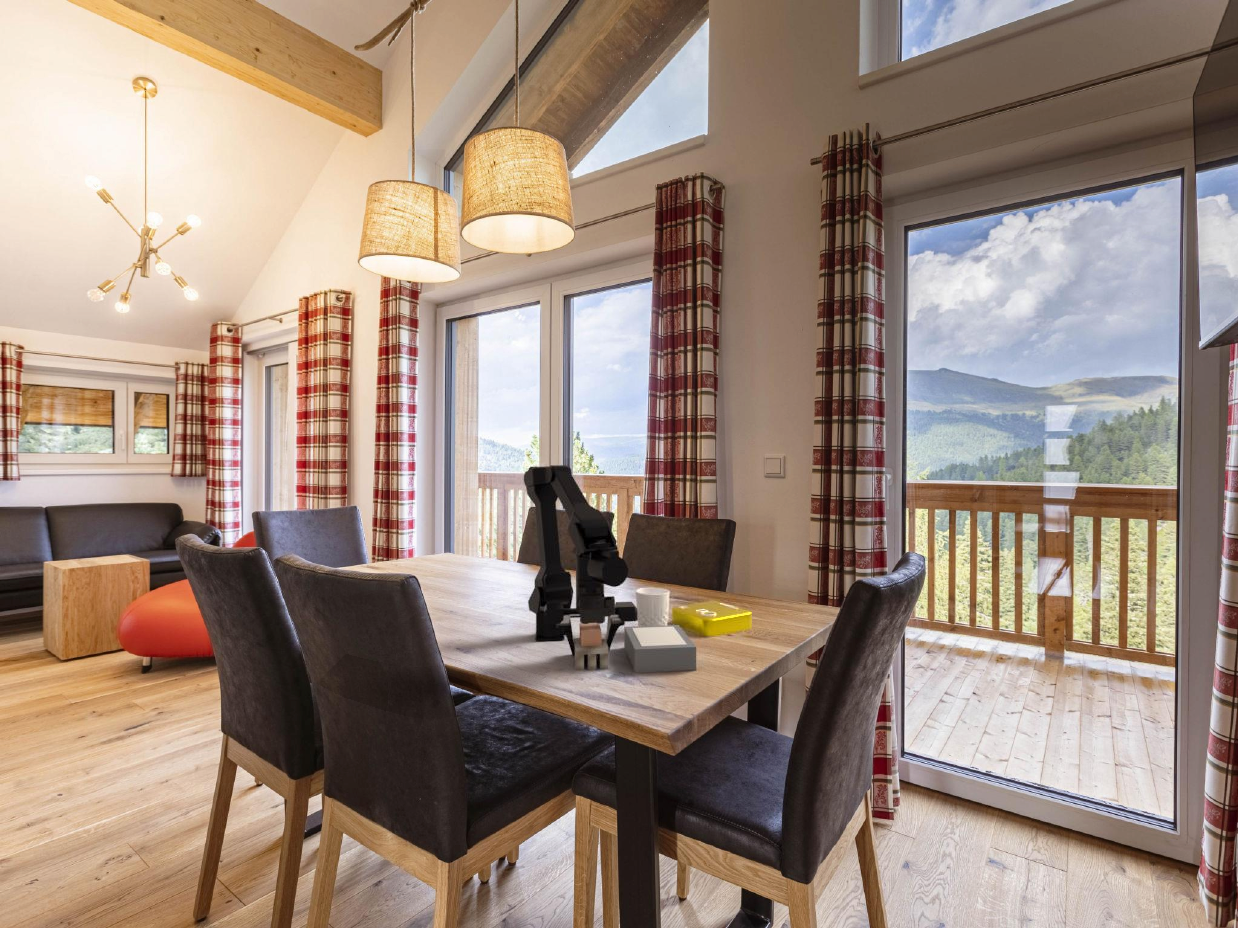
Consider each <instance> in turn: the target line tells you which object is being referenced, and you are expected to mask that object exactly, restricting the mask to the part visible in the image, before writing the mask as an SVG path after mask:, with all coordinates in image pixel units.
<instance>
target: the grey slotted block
mask: <svg viewBox="0 0 1238 928" xmlns="http://www.w3.org/2000/svg"><path fill="white" fill-rule="evenodd" d="M605 636H606V635H605V634H604V633H601V646H581V642H580V634H573V641H574V648H575V656H573V659H574V660H573V661H574V669H575V671H583V670H585V661H586V667H587V670H597V661H598V666H599V670H608V669H609V653H608V645H607V642H606V637H605ZM609 670H610V669H609Z"/></svg>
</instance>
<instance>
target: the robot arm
mask: <svg viewBox="0 0 1238 928" xmlns="http://www.w3.org/2000/svg"><path fill="white" fill-rule="evenodd" d="M523 483H524V485H525V490H526V495H527V496H528V498H529V499H530V500H531V502H532V503H533V505H534V507H535V509H534V510H535V518H536V530H537V541H538V542H537V543H538V552H539V553H538V555H539V563H540V564H539V566H540V568H539V570H538V571H537V573H536V576H535V578H534V588H533V590H532V593H531V594H530V597H529V599H528V600H527V605H528V610H529V611H530V612H532V613H533V614H535V638H534V639H535V641H536V642H537V641H563V640H565V637H566V639H567V643H568V645H569V649H570V653H571V654H572V655H571V656H572V657H574V656H575V648H574V641H573V635H574V634H573V629H572V628H573V627H572V621H571V619H573V618H579V623H582V624H588V623H598V624H599V625H600V624H604V623H605V622H606V617H607V624H606V635H605V636H606V637H605V639H606V642H607V645H608V654H609V653H610V650H611V647H612V644H613V641H614V638H615V635H616V633H617V631H618V630H619V628H620V627H622V626H625V624H626V622H627V623H629V622H630V623H631V622H638V612H637V605H635V604H634V602H633V601H616V599H615V596H612V595H611V596H605V585H606V586H608V587H610V588H611V587H612V588H616V587H620V586H621V585H622V584H624V582H625V581H626V579H628V575H629V567H628V565H627V562H626V561H625V560H624V558H623V557H620V550H618V549H619V548H618V545H617V543H618V542H617V539H616V537H615V536H614V533H613V531H612V529H611V525H610V523H609V521H608V519H607V518H606V517H605V515H603V513H602V512H601V511H600V510H599V509H598V508H596V507H593V506H592V505H590V504H589V502H588V500H587V499H586V497H585V496H584V493H583V492H582V490H581V489H580V487H579V484H578V483H577V481H576V480H575V478H574V476H573V472H572V469H571V467H570V465H569V466H568V465H566V464H559V465H558V464H557V465H555V464H553V465H548V466H530V467H529V468H528V469H527V470H526V471H525V472H524V473H523ZM558 500H559V502H560V503H561V505H562V507H563V509H564V511H565V513H566V515H567V517H568V519H569V520H568V521H569V522H568V525H567V530H568V533H569V536H570V540H571V542H572V543H573V544H574V548H573V549H572V550H571V552H572V554H575V607H573V608H572V603H573V596H574V588H573V584H572V575H571V573H570V571H566V569H565V568H564V566H563V565H562V557H561V555H562V554H561V547H560V545H561V544H560V534H559V524H558V522H559V521H558V512H557V511H558V510H557V501H558Z"/></svg>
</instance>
